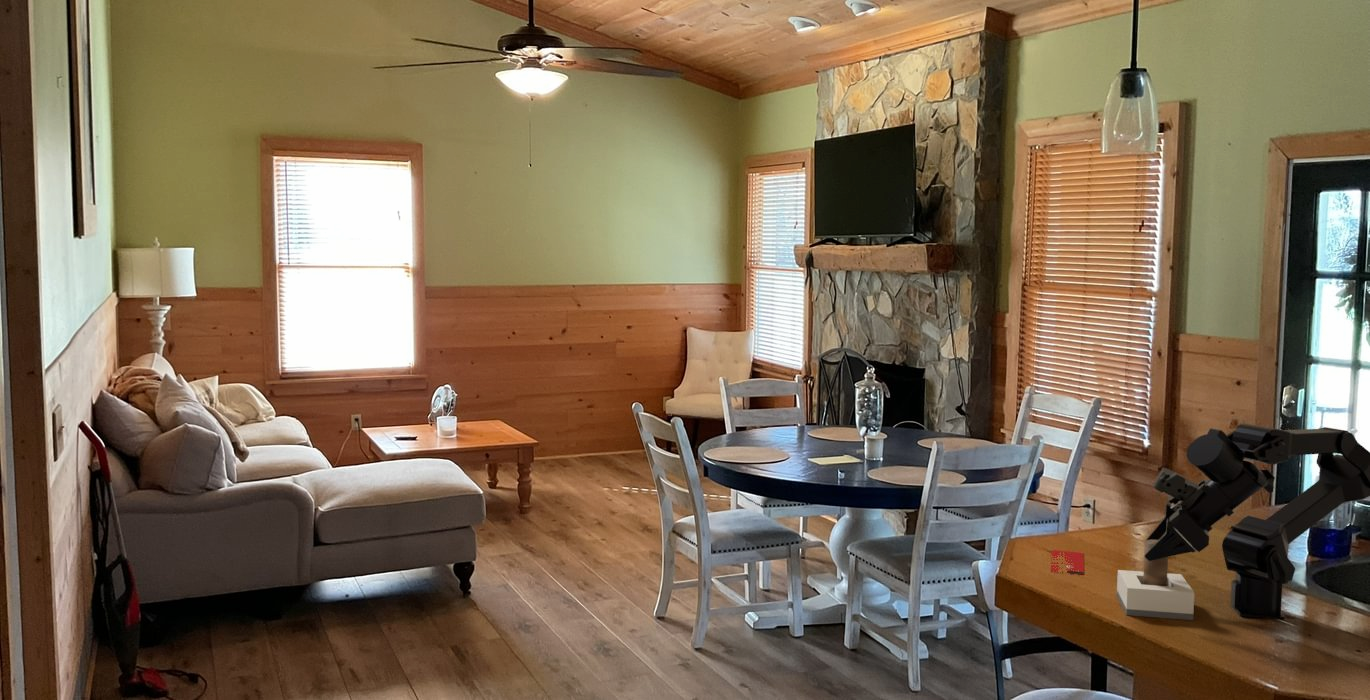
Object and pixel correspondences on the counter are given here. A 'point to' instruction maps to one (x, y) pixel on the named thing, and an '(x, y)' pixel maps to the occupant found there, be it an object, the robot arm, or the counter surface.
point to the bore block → (1155, 596)
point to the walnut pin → (1154, 568)
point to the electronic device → (1076, 560)
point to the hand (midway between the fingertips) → (1146, 551)
